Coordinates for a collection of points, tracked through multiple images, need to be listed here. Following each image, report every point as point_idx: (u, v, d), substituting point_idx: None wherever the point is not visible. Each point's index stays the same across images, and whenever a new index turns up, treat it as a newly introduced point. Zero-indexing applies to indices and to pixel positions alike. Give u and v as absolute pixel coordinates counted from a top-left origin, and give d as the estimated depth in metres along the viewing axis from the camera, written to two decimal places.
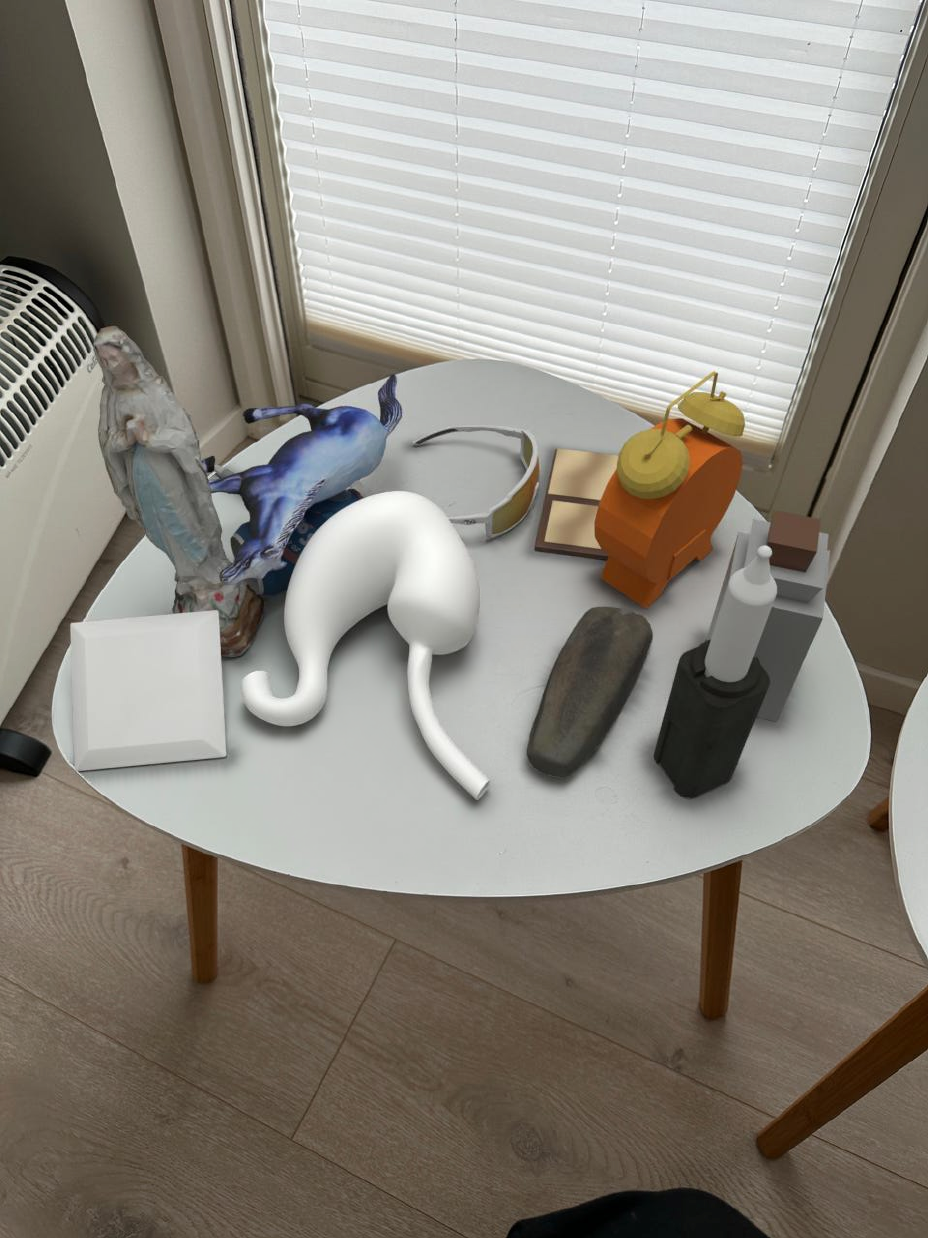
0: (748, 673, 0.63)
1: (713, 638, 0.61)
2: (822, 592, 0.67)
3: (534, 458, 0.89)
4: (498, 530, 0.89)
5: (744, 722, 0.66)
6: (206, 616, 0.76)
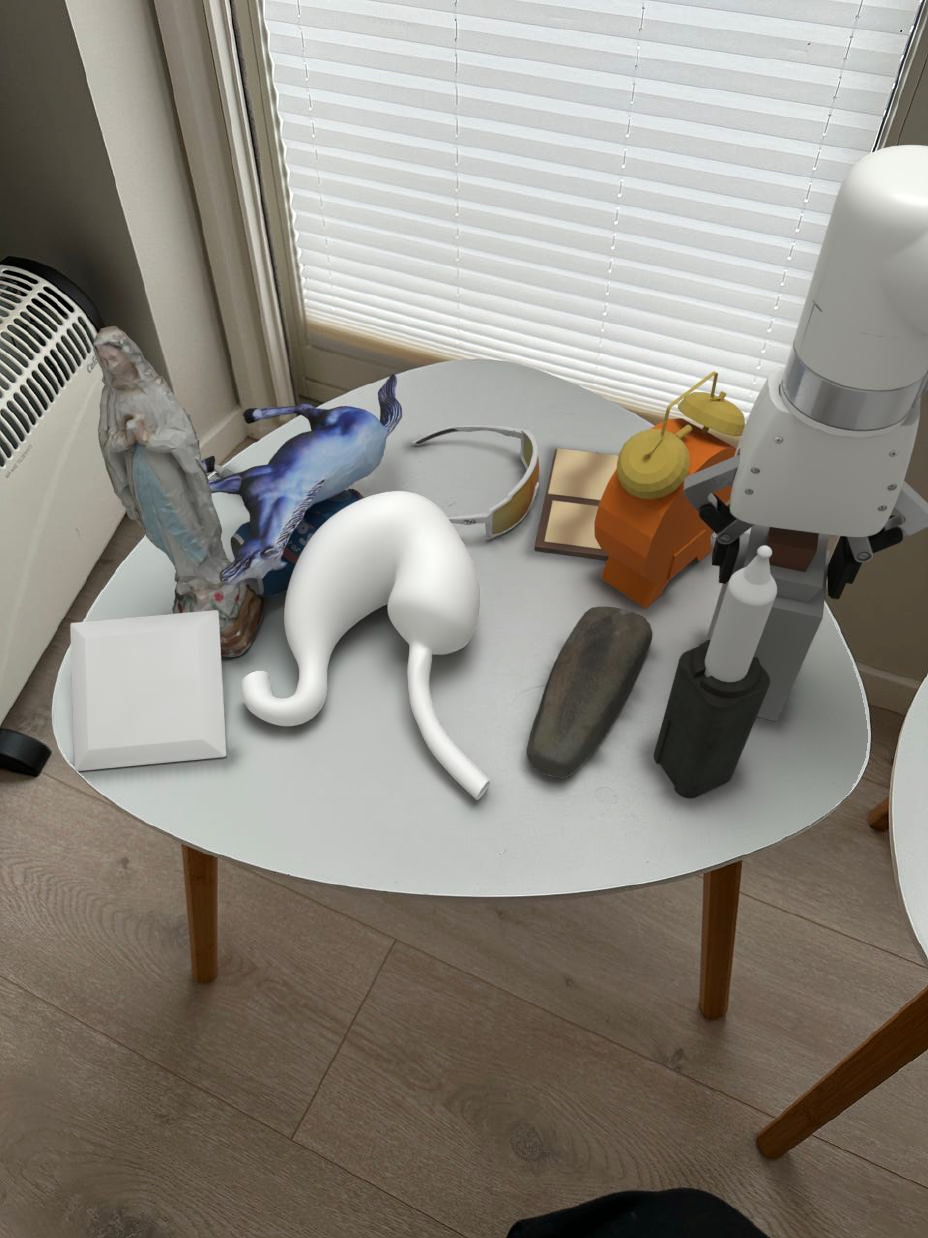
0: (748, 673, 0.63)
1: (713, 638, 0.61)
2: (822, 592, 0.67)
3: (534, 458, 0.89)
4: (498, 530, 0.89)
5: (744, 722, 0.66)
6: (206, 616, 0.76)
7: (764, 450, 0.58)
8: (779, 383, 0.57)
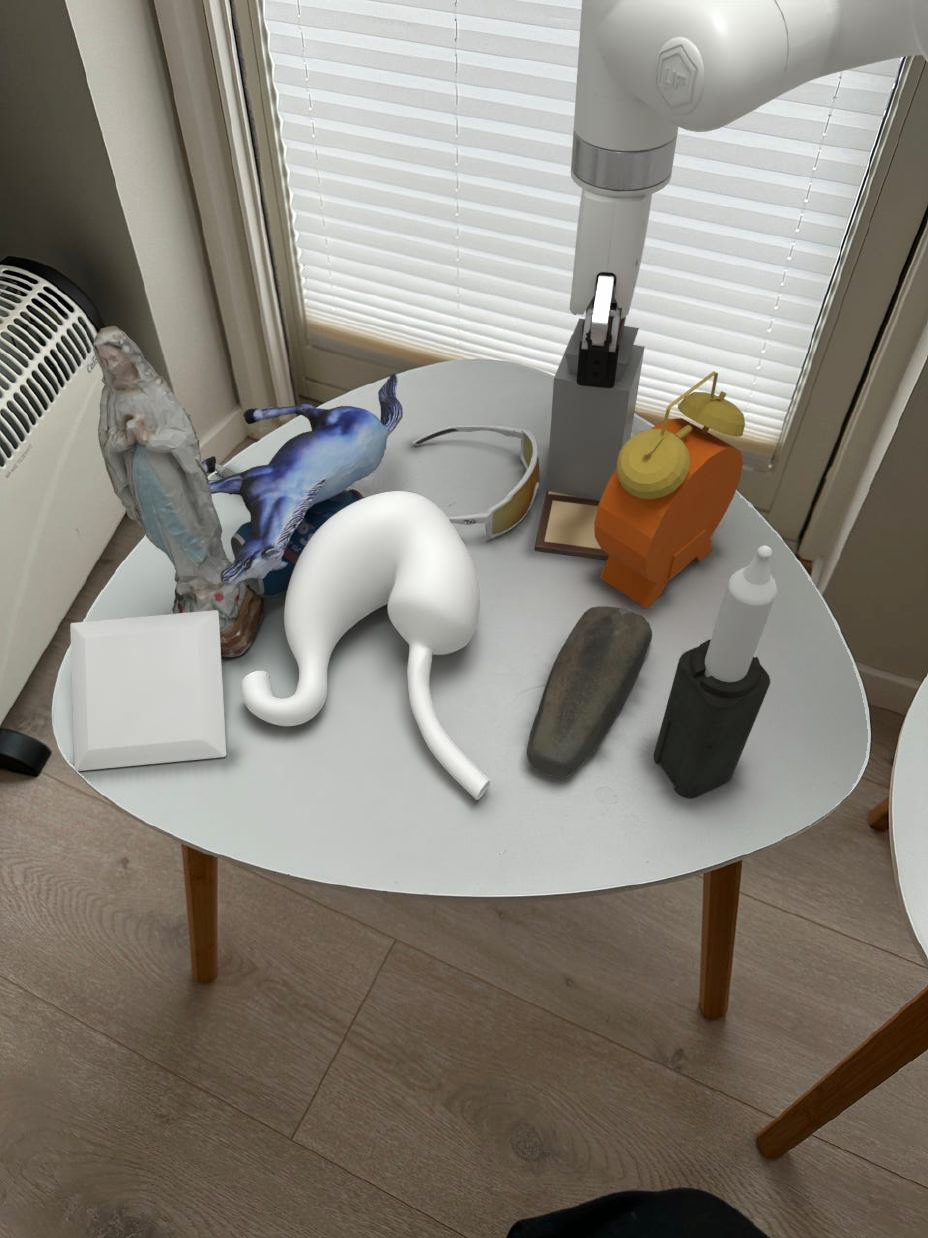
0: (748, 673, 0.63)
1: (713, 638, 0.61)
2: None
3: (534, 458, 0.89)
4: (498, 530, 0.89)
5: (744, 722, 0.66)
6: (206, 616, 0.76)
7: (639, 240, 0.70)
8: (606, 197, 0.68)
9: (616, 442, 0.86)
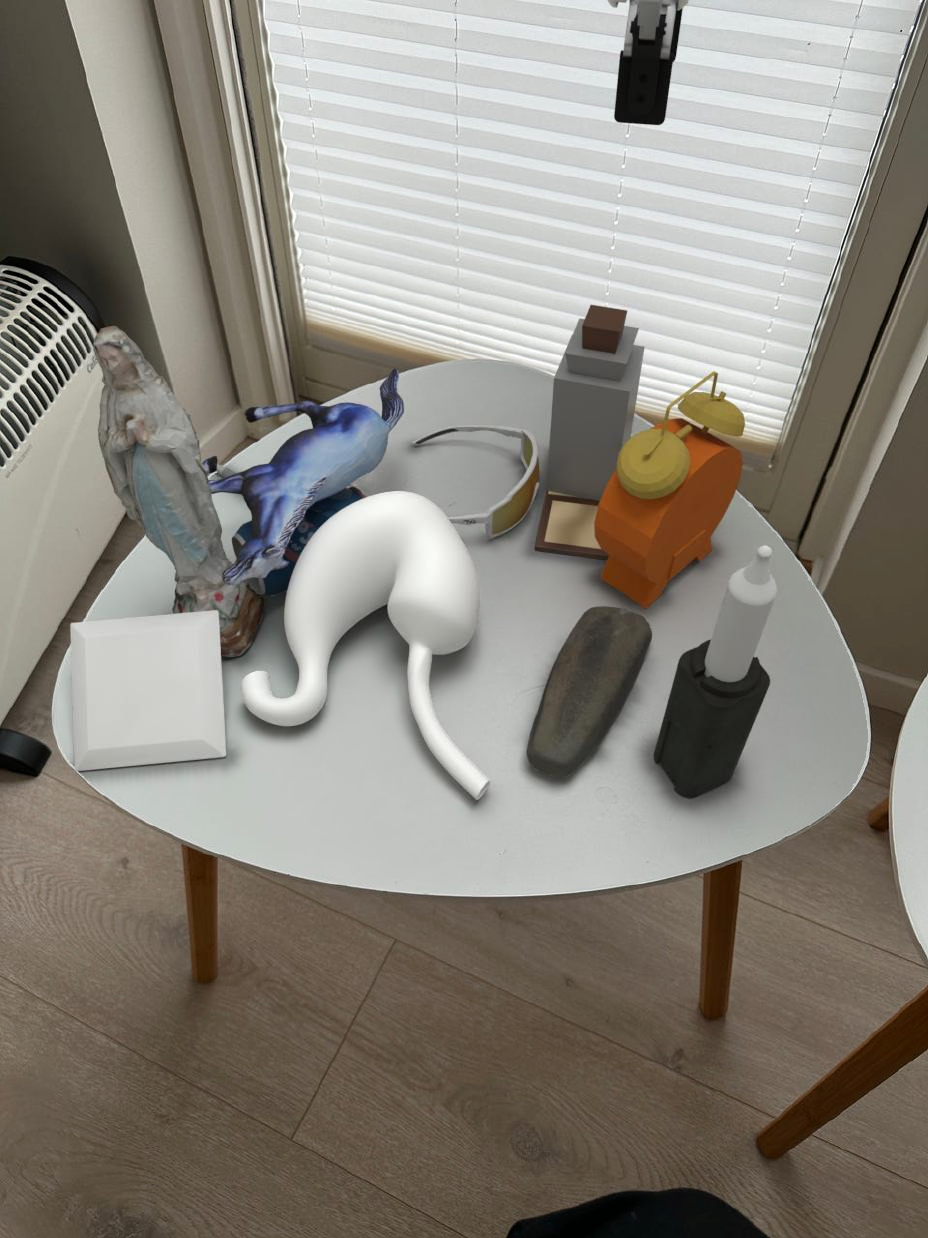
0: (748, 673, 0.63)
1: (713, 638, 0.61)
2: None
3: (534, 458, 0.89)
4: (498, 530, 0.89)
5: (744, 722, 0.66)
6: (206, 616, 0.76)
7: None
8: None
9: (616, 442, 0.86)
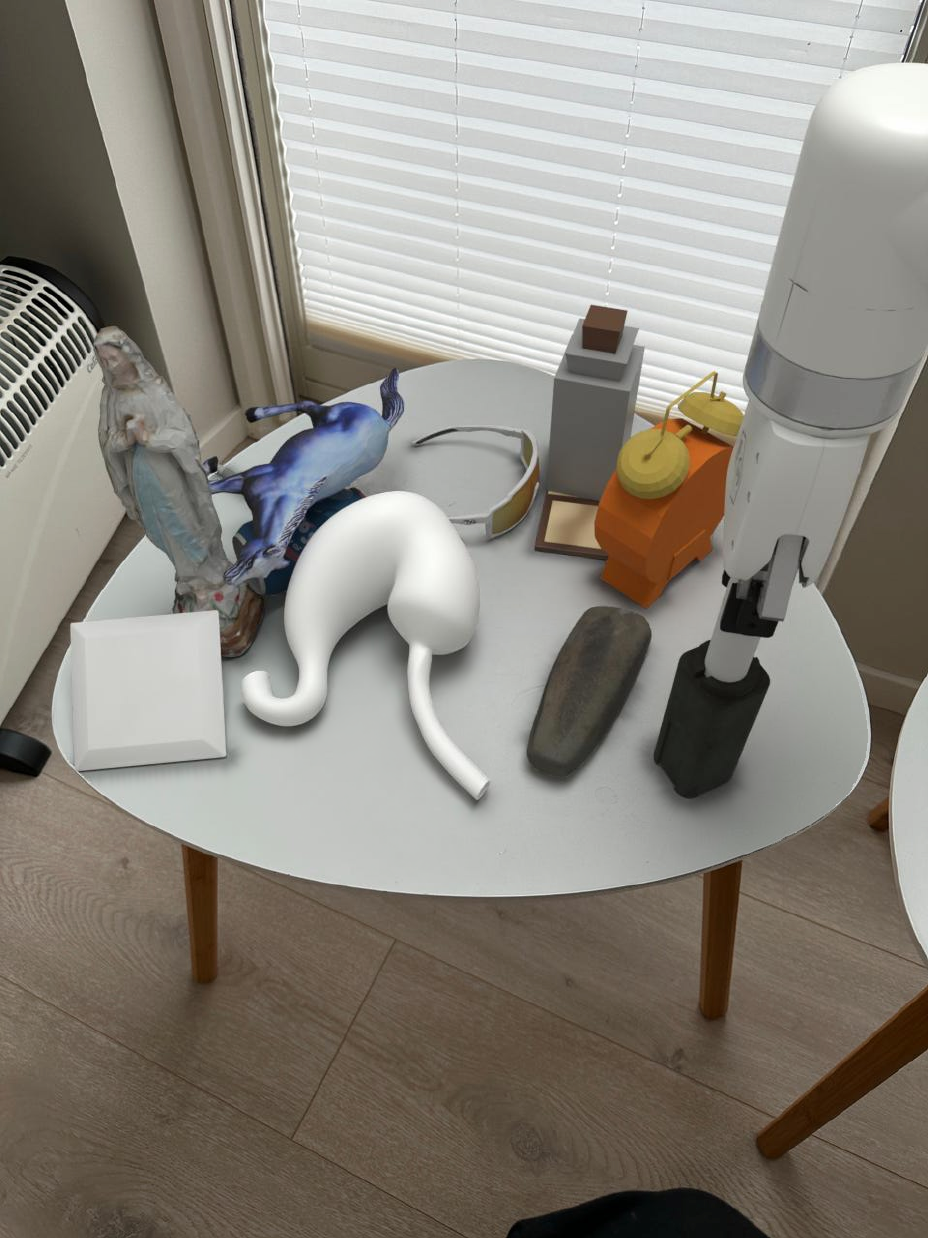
0: (748, 673, 0.63)
1: (713, 638, 0.61)
2: None
3: (534, 458, 0.89)
4: (498, 530, 0.89)
5: (744, 723, 0.66)
6: (206, 616, 0.76)
7: (851, 493, 0.45)
8: (809, 436, 0.43)
9: (616, 442, 0.86)
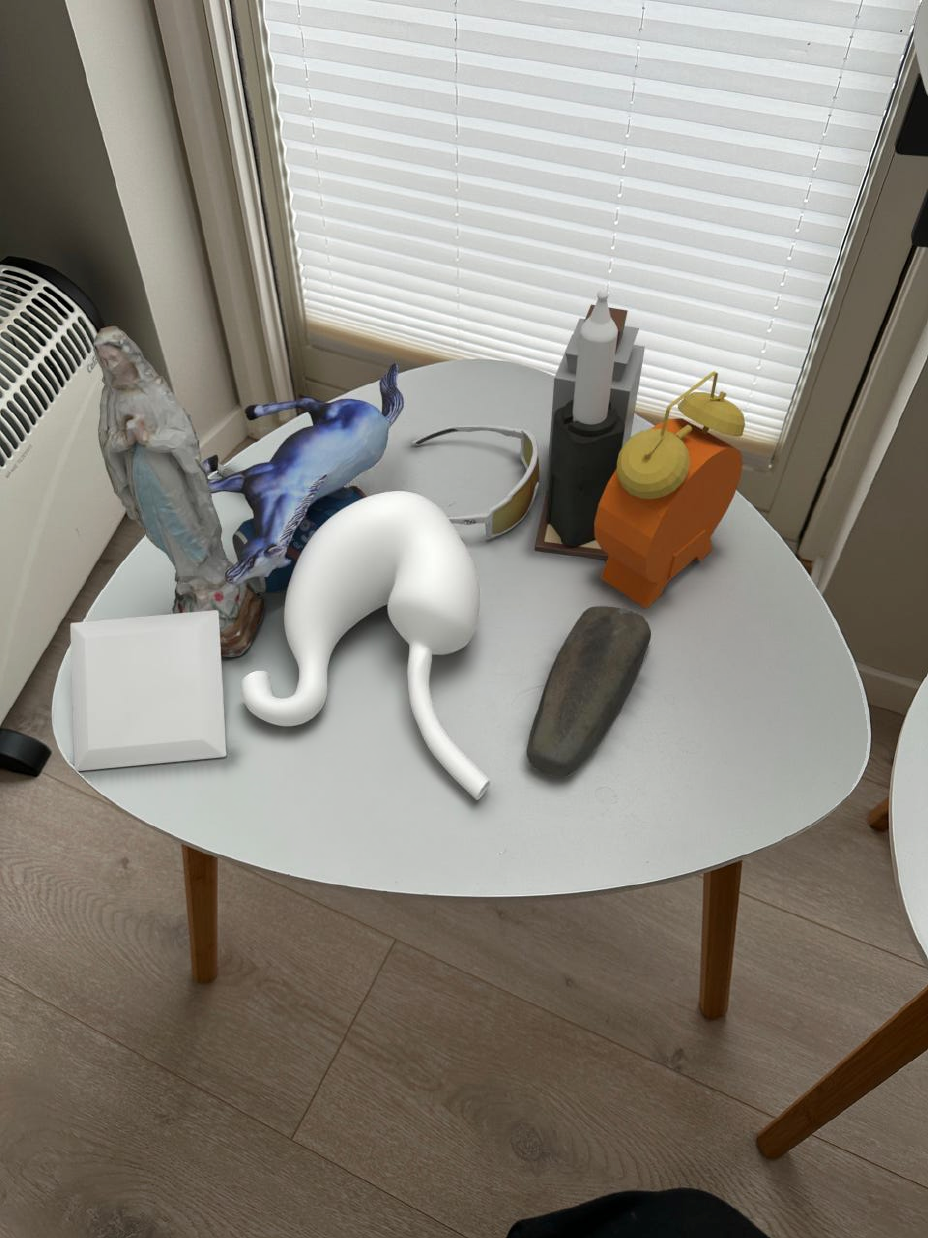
0: (606, 418, 0.79)
1: (575, 384, 0.77)
2: None
3: (534, 458, 0.89)
4: (498, 530, 0.89)
5: (607, 466, 0.81)
6: (206, 616, 0.76)
7: None
8: None
9: None
